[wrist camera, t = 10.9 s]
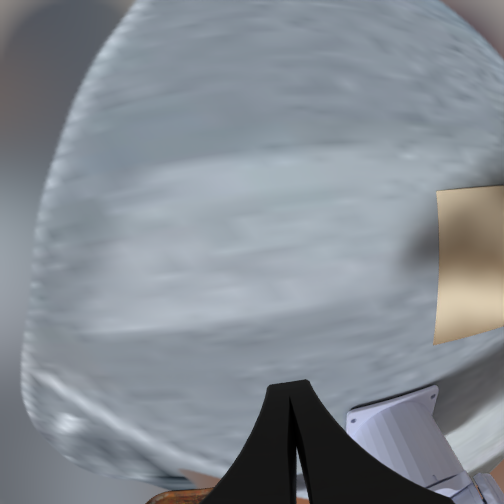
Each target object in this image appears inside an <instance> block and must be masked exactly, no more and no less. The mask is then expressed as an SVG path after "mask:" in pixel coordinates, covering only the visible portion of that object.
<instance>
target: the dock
mask: <svg viewBox="0 0 504 504" xmlns="http://www.w3.org/2000/svg"><path fill="white" fill-rule="evenodd" d="M436 193H437V205H438V222H439V285H438V302H437V315H436V325H435V334H434V342H433V345H437V344H441V343H445V342H449V341H453V340H457V339H461V338H465V337H469V336H472V335H476V334H479V333H483V332H486V331H490V330H493V329H496V328H499V327H502V326H504V185H501V186H486V187H474V188H463V189H452V190H442V191H436Z"/></svg>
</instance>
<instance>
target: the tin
mask: <svg viewBox="0 0 504 504" xmlns="http://www.w3.org/2000/svg"><path fill="white" fill-rule="evenodd" d="M213 488H214V487H213ZM213 488H205V489H195V490H181V491H168V492H164V493H161V494H158V495H156V496H154V497H153V498H151V499H150V500H149V501H148V502H147V503H146V504H199V503H200V502H201V501H202V500H203V499H204V498H205V497H206V496H207V495H208V494H209V493H210V492H211V491H212V489H213Z"/></svg>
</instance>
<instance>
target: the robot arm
mask: <svg viewBox="0 0 504 504" xmlns="http://www.w3.org/2000/svg"><path fill="white" fill-rule="evenodd" d="M438 392H439V388H438V387H437V385H433V386H430V387H428V388H425V389H422V390H419V391H416V392H413V393H410V394H407V395H404V396H401V397H397V398H394V399H391V400H387V401H384V402H380V403H376V404H373V405H369V406H365V407H361V408H357V409H353V410H350V411H349V412H348V413H347V422H346V431H345V430H344V429H343V428H342V427H341V426H340V425H339V424H338V423H337V422H336V420H335V419H334V418H333V417H332V416H331V414H330V413H329V412H328V411H327V409H326V408H325V407H324V405H323V404H322V402H321V401H320V399H319V398H318V396H317V395H316V393H315V391H314V390H313V388H312V386H311V384H310V381H308V380H306V379H305V380H299V381H293V382H286V383H279V384H272V385H269V386H268V387H267V391H266V396H265V399H264V403H263V406H262V408H261V411H260V414H259V416H258V418H257V421H256V423H255V425H254V428H253V430H252V432H251V434H250V436H249V438H248V439H247V441H246V443H245V445H244V447H243V449H242V450H241V452H240V454H239V455H238V457H237V458H236V460H235V461H234V463H233V464H232V466H231V467H230V468H229V470H228V471H227V473H226V474H225V475H224V476H223V478H222V479H221V480H220V481H219V482H218V484H217V485H216V486H215V487H214V488H213V489H212V491H211V492H210V493H209V494H208V495H207V496H206V497H205V498H204V499H203V500H202V501H201V502H200V503H199V504H296V469H297V457H296V446H297V450H298V455H299V459H300V463H301V467H302V472H303V476H304V480H305V484H306V488H307V492H308V497H309V503H310V504H504V494H503V492H502V491H501V489H500V487H499V486H498V484H497V483H496V481H495V480H494V478H493V477H492V476H491V475H490V474H489V473H484V474H482V473H478V474H476V475H475V476H474V477H473V478H474V480H475V482H476V484H477V485H478V489H479V491H480V493H481V495H482V497H483V499H481V496H480V495H479V493H478V491H477V489H476V487H475V485H474V483H473V482H472V480H471V478H470V477H469V475H468V473H467V471H466V470H464V469H463V467H462V465H461V463H460V462H459V460H458V458H457V456H456V455H455V453H454V451H453V450H452V448H451V446H450V445H449V443H448V441H447V440H446V438H445V437H444V435H443V433H442V432H441V430H440V428H439V427H438V425H437V424H436V422H435V420H434V419H433V417H432V414H433V411H434V407H435V403H436V400H437V396H438ZM352 419H353V420H352Z"/></svg>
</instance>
